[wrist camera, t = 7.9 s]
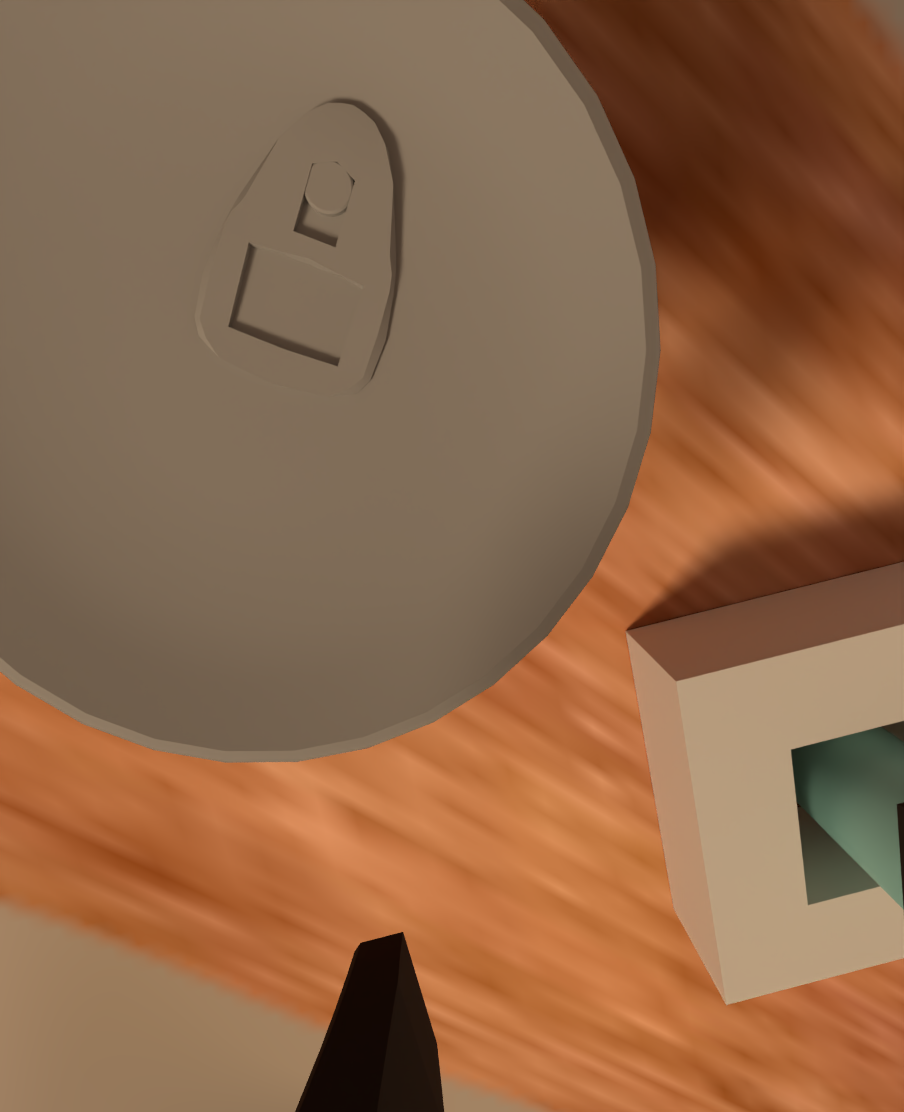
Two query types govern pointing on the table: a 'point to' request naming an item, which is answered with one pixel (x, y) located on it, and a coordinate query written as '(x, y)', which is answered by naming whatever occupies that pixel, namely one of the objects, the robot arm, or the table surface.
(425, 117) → the canned food
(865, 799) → the peg
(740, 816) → the socket block
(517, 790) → the table surface
